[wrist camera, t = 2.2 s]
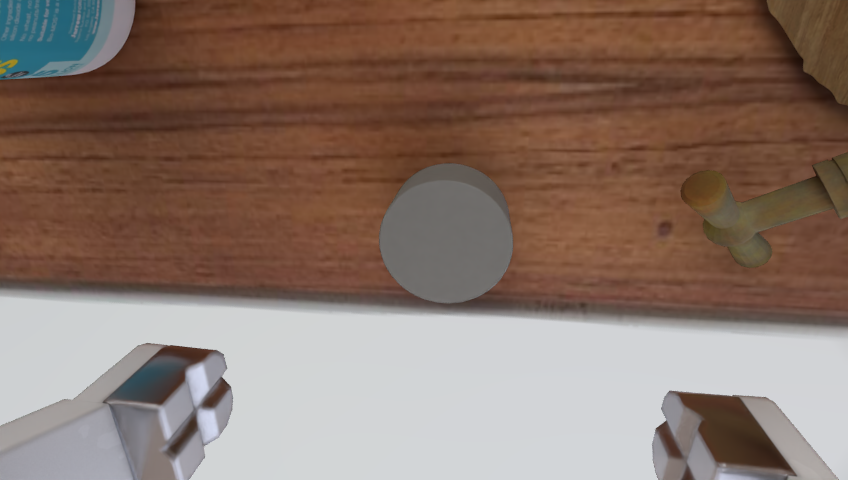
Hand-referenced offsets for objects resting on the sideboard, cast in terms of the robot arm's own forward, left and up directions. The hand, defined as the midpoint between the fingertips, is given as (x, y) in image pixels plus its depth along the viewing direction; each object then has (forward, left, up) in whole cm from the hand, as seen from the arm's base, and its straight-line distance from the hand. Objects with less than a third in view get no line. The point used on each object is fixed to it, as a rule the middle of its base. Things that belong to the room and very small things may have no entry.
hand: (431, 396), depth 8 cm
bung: (0, 0, -12) cm, 12 cm away
